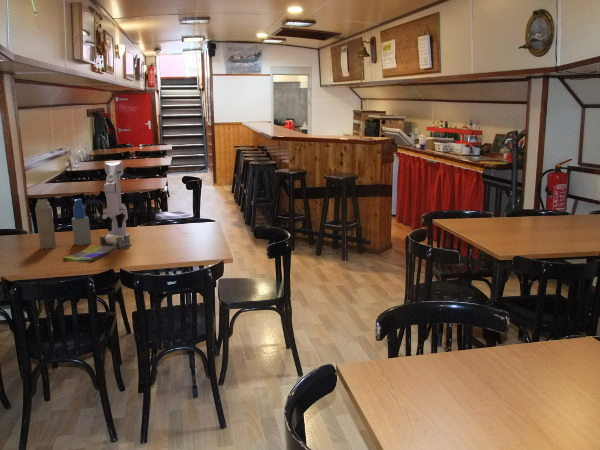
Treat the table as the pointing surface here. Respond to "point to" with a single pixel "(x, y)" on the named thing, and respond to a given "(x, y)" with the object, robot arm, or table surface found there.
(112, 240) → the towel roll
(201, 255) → the table surface
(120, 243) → the roll holder
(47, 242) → the thermos bottle
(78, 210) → the spray bottle
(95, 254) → the dish towel
